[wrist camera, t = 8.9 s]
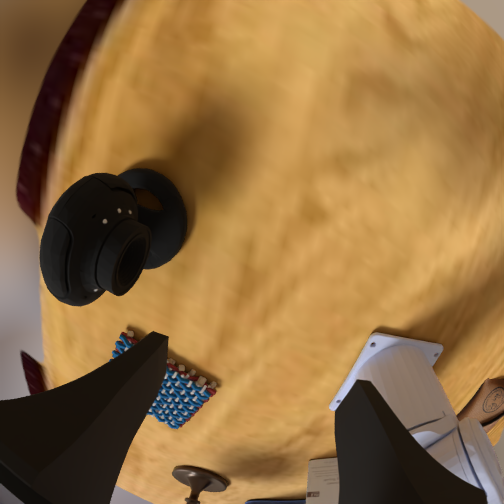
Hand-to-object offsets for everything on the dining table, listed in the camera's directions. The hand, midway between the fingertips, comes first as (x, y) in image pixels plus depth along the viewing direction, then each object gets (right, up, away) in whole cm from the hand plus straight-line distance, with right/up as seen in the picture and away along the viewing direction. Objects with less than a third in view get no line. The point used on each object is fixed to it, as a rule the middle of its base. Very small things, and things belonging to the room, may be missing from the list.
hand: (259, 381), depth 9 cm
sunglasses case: (+28, -19, +14) cm, 36 cm away
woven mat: (-10, -9, +16) cm, 21 cm away
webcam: (-8, +7, +10) cm, 15 cm away
